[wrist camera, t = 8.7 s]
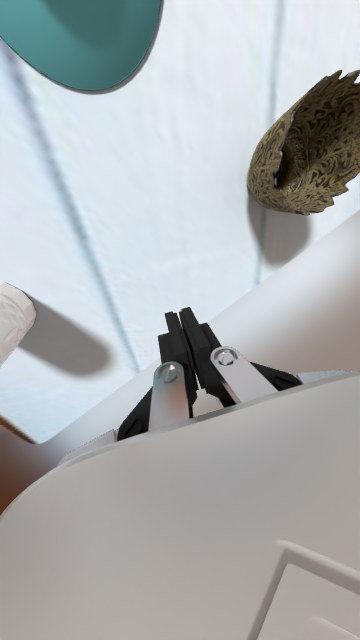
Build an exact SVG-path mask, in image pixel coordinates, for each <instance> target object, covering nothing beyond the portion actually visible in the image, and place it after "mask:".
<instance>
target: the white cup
mask: <svg viewBox="0 0 360 640" xmlns="http://www.w3.org/2000/svg"><path fill="white" fill-rule="evenodd" d="M35 317H36V311H35V308H34V305H33V303H32V301H31V300H30V299H29V298H28V297H27V296H26V295H25V294H24V293H23V292H22V291H21V290H19V289H17V288H15V287H13V286H11V285H9V284H7V283H5V282H1V281H0V367H1V366H2V365H3V364H4V362H5V361H6V360H7V359H8V357H9V356H10V355H11V354H12V352H13V351H14V349H15V348H16V347H17V346H18V344H19V343H20V342H21V340H22V339H23V337H24V335H25V334H26V333H27V332H28V330H29V329H30V328H31V327H32V326H33V324H34V321H35Z"/></svg>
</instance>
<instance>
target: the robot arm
mask: <svg viewBox="0 0 360 640" xmlns="http://www.w3.org/2000/svg"><path fill="white" fill-rule="evenodd" d="M181 310H182V311H181V312H179V315H180V320H181V324H182V327H181V324H180V321H179V318H178V316H177V313H173V311H172V312H168V313H165V318H166V322H167V326H168V330H169V333H166V334H163V335H159V336H158V341H159V348H160V355H161V362H162V365H160V366H159V367H158V368H157V369H156V371H155V373H154V381H153V386H152V388H151V389H150V390H149V391H148V392H147V394H146V395H145V396H144V397H143V399H142V400H141V401H140V402H139V403H138V405H137V406H136V407H135V408H134V409H133V411H132V412H131V413H130V414H129V415H128V417H127V418H126V419H125V420H124V421H123V423H122V425H121V426H120V428H119V429H117V430H115V431H114V429H112V430H110V431H108V432H106V433H105V434H103V435H101V436H99V437H97V438H95V439H94V440H92V441H90V442H88V443H86V444H84V445H82V446H81V447H79V448H77V449H75V450H73V451H72V452H70V453H68V454H67V455H66V456H64V457H63V458H62V459H61V460H60V462H59V463H58V464H57V466H56V468H54V469H53V470H52V471H50V472H48V473H47V474H46V475H44V476H43V477H41V478H40V479H38V480H37V481H36V482H35V483H33V484H32V485H30V486H29V487H28V488H27V489H26V490H24V491H23V492H22V493H21V494H20V495H19V496H18V497H17V498H16V499H15V500H14V501H13V502H12V503H11V504H10V505H9V506H8V507H7V508H6V510H5V511H4V512H3V514H2V515H1V516H0V640H360V371H358V372H349V371H346V370H335V371H323V372H310V373H298V374H297V375H296V376H293V375H291V374H288V373H286V372H283V371H279V370H275V369H272V368H269V367H266V366H262V365H259V364H255V363H252V362H249V361H248V360H247V359H246V358H244V357H243V355H242V354H240V352H238V351H237V350H236V349H234V348H232V347H226V346H225V347H222V346H221V344H220V343H219V341H218V340H217V338H216V336H215V335H214V333H213V332H212V330H211V328H210V327H209V325H208V324H207V323H203V324H199V323H198V321H197V319H196V318H195V316H194V314H193V312H192V310H191V308H190V307H187V308H183V309H181ZM194 369H195V370H194ZM195 372H196V375H197V378H198V381H199V384H200V386H201V389H204V388H205V390H206V393H207V394H208V393H209V394H211V395H213V396H215V397H216V400H217V402H218V404H219V405H220V407H221V409H220V410H217V411H213V412H210V413H207V414H204V415H200V416H198V417H194V408H193V404H194V402H195V400H196V399H197V393H196V390H199V389H198V384H197V379H196V375H195Z"/></svg>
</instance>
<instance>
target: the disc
mask: <svg viewBox="0 0 360 640" xmlns="http://www.w3.org/2000/svg"><path fill="white" fill-rule="evenodd" d="M160 4H161V0H0V36H1V37H2V38H3V39H4V41H5V42H6V43H7V44H8V45H9V46H10V47H11V48H12V49H13V50H14V51H16V52H17V53H18V54H19V55H20V56H21V57H22V58H23V59H24V60H25V61H27V62H28V63H29V64H30V65H32V66H33V67H34V68H36V69H37V70H38V71H40V72H41V73H43V74H45V75H46V76H48V77H49V78H51V79H53V80H55V81H57V82H59V83H61V84H64V85H66V86H70V87H73V88H76V89H82V90H102V89H106V88H109V87H112V86H114V85H116V84H118V83H120V82H122V81H123V80H124V79H125V78H127V77H128V76H129V75H130V74H131V73H132V72H133V71H134V70H135V69H136V67H137V66H138V65H139V63H140V62H141V60H142V59H143V57H144V55H145V54H146V51H147V49H148V47H149V45H150V43H151V40H152V37H153V34H154V31H155V28H156V24H157V20H158V15H159V10H160Z"/></svg>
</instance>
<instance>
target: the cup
mask: <svg viewBox="0 0 360 640" xmlns="http://www.w3.org/2000/svg"><path fill="white" fill-rule="evenodd" d="M341 73H342V70H339V71H337V72H335V73H334V74H332V75H331V76H328V77H327V76H326V77H324V78H323V79H322V80H320V81H319V82H318V83H317V84H316V85H315V86H314V87H313V88H311V89H310V90H309V91H308V92H307V93H306V94H305V95H304V96H303V97H302V98H301V99H300V100H299V101H297V102H296V103H295V104H294V105H293V106H292V107H291V108H290V109H289V110H288V111H287V112H286V113H285V114H284V115H282V116H281V117H280V118H279V119H278V120H277V121H276V122H275V123H274V124H273V125H272V127H271V128H270V129H269V130H268V131H267V132H266V134H265V135H264V136H263V138H262V139H261V141H260V142H259V144H258V146H257V148H256V150H255V152H254V154H253V157H252V160H251V163H250V167H249V170H248V173H247V184H248V187H249V189H250V191H251V193H252V195H253V197H254V198H255V200H256V201H257V202H258V203H259V204H260V205H262V206H264V207H266V208H268V209H271V210H275V211H281V212H288V213H295V214H301V215H310V213H320V212H323V211H324V208H326V207H329V206H333V205H334V201H333V198H332V197H335V196H339V195H341V194H342V193H345V192H347V191H348V190H349V189H348V188H347V187H346V186H345V185H346V183H347V182H349V181H350V180H352V179H354V178H355V177H356V176H357V175H358V174H359V173H360V83H354V81H356V79H357V77H358V76H359V74H360V70H357V71H354V72H351V73H348V74H347V75H346V76H345V77H343V78H341V79H340V80H339V79H338V78H339V77H340V75H341Z"/></svg>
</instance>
